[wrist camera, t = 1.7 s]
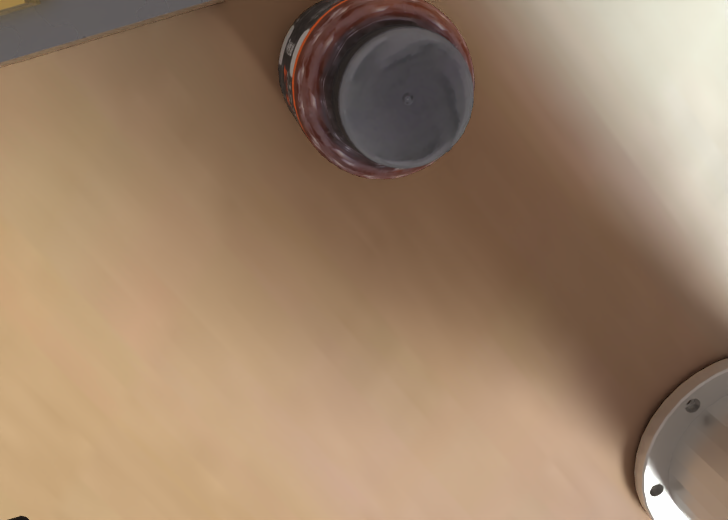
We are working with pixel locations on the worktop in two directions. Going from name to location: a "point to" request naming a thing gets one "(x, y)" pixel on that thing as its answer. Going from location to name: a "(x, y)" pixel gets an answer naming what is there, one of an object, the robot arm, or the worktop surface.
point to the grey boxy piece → (76, 22)
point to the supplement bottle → (377, 84)
